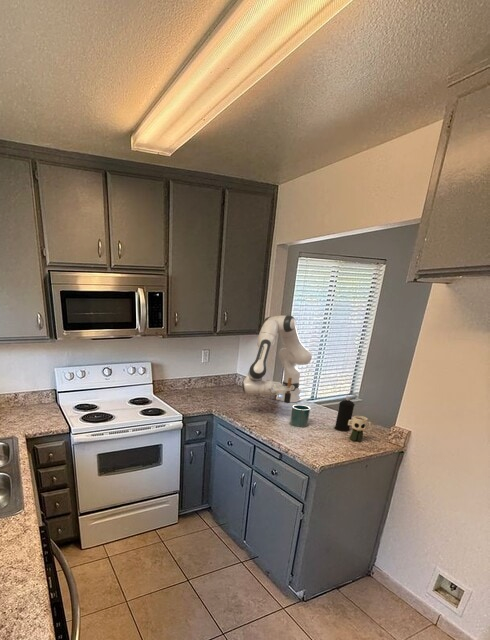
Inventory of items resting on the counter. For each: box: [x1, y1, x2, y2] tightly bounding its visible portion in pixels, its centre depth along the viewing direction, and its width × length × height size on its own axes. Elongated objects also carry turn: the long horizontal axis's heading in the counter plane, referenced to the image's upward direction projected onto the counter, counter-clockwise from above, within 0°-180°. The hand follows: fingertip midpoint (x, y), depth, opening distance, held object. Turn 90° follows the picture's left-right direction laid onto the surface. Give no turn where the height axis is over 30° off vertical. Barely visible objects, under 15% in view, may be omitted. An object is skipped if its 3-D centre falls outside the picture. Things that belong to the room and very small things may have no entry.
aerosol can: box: [334, 395, 356, 432], centre depth 210 cm, size 8×8×20 cm
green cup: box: [289, 404, 311, 428], centre depth 219 cm, size 10×10×11 cm
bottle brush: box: [283, 378, 292, 404], centre depth 227 cm, size 4×4×16 cm
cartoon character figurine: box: [348, 415, 372, 442], centre depth 196 cm, size 11×7×13 cm, turn 70°
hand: (290, 388), depth 227 cm, fingers closed on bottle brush, 2 cm apart
